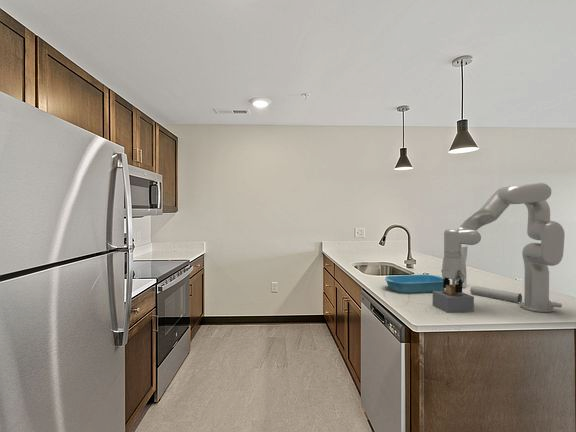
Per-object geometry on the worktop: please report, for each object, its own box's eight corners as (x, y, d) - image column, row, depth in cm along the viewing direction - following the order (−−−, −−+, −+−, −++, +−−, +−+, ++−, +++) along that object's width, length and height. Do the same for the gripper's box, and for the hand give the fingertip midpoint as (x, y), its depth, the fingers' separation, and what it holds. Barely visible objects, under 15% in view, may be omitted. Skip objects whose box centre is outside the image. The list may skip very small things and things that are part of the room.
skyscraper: (454, 284, 216) (454, 241, 215) (468, 286, 211) (468, 242, 211) (451, 287, 209) (451, 242, 209) (466, 289, 204) (466, 243, 204)
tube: (467, 287, 191) (516, 296, 170) (472, 283, 194) (521, 291, 173) (469, 296, 192) (518, 305, 171) (474, 291, 194) (523, 300, 174)
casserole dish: (395, 295, 189) (395, 282, 189) (378, 286, 211) (378, 275, 211) (454, 292, 195) (454, 280, 195) (432, 284, 217) (432, 273, 217)
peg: (454, 304, 165) (454, 284, 165) (459, 307, 161) (459, 286, 161) (445, 305, 165) (445, 284, 165) (450, 307, 161) (450, 286, 161)
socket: (456, 304, 170) (456, 290, 170) (473, 311, 157) (473, 296, 157) (432, 305, 169) (432, 291, 169) (447, 312, 156) (447, 297, 156)
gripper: (435, 252, 171) (435, 286, 171) (456, 257, 154) (456, 294, 154) (449, 252, 172) (449, 286, 172) (471, 257, 155) (471, 294, 155)
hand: (452, 290), depth 163 cm, fingers open, 9 cm apart
